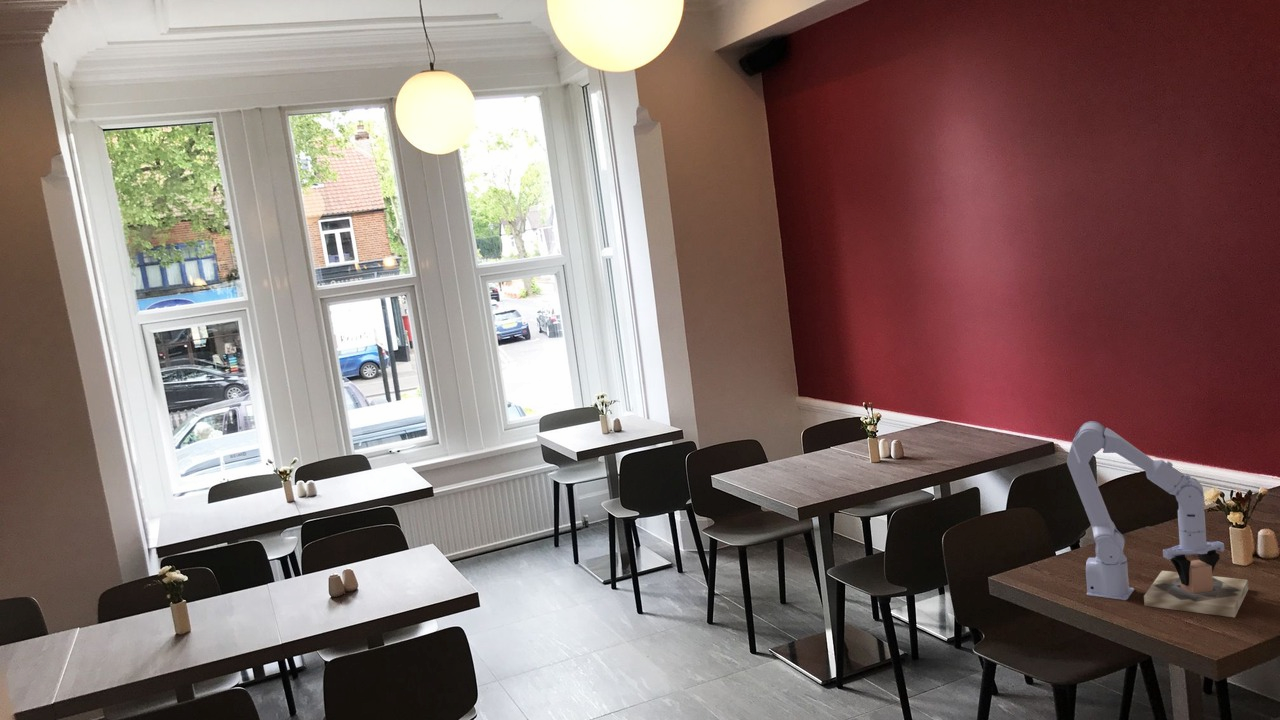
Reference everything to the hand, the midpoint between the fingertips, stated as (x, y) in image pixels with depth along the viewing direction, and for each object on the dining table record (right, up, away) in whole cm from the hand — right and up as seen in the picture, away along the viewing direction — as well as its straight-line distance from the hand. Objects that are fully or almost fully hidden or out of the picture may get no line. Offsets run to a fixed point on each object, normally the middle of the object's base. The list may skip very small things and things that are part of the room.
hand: (1195, 582), depth 234 cm
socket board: (+1, -4, 0) cm, 4 cm away
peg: (0, -3, 0) cm, 3 cm away
